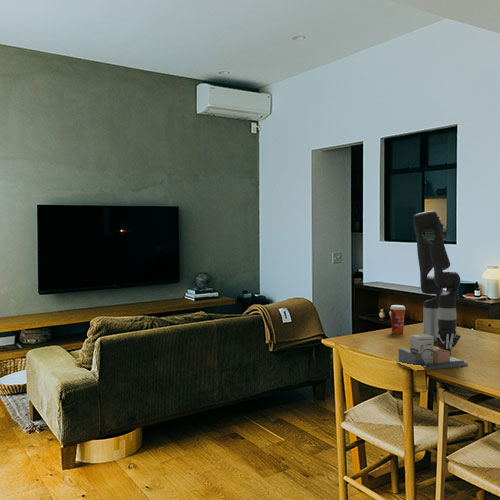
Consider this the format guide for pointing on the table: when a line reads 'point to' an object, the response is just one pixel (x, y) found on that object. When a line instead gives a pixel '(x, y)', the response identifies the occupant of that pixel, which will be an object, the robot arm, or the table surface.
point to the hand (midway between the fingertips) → (446, 356)
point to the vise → (416, 359)
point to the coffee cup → (397, 318)
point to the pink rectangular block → (440, 355)
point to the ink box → (423, 346)
